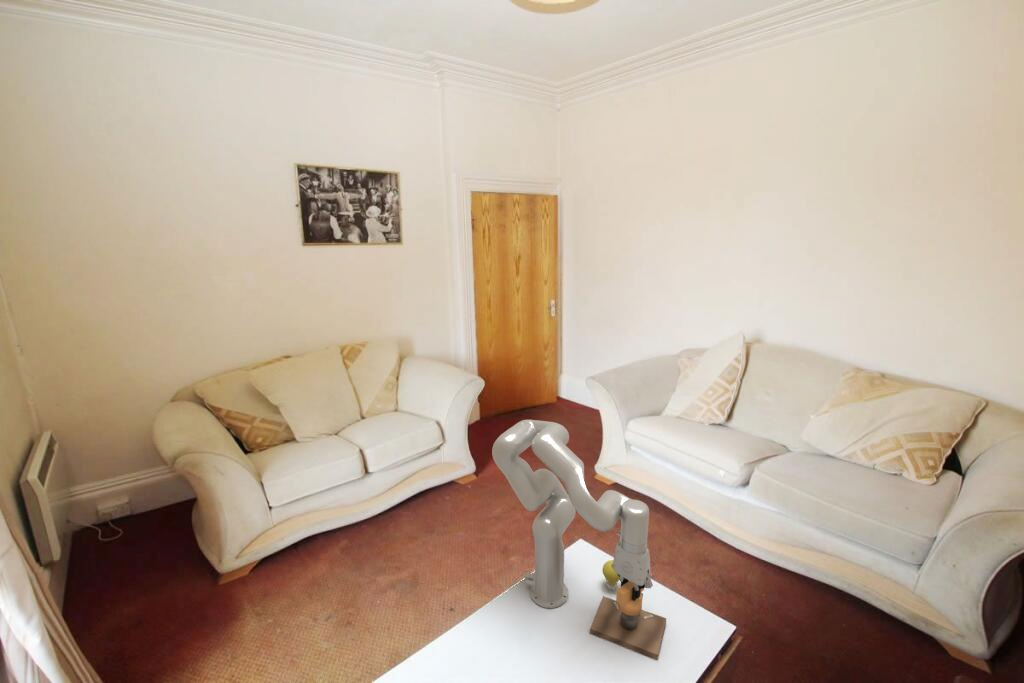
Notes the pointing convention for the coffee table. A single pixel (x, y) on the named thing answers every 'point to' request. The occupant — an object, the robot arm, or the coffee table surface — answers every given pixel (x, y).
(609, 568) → the light bulb
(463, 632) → the coffee table surface
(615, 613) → the post board
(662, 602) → the coffee table surface
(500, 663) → the coffee table surface
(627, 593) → the orange bar knob
